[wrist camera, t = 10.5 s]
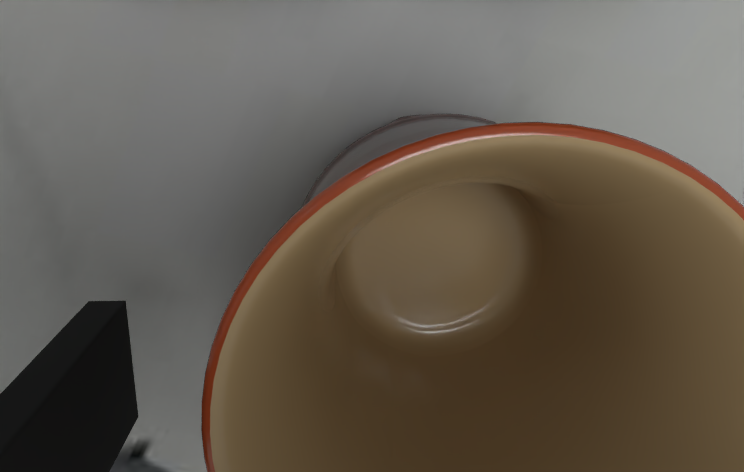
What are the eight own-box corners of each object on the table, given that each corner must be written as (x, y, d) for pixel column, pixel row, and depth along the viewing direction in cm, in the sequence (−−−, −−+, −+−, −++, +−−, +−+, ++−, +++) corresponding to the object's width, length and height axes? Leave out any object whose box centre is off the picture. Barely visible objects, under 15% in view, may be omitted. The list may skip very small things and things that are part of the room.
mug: (372, 20, 18) (401, -14, 8) (640, 180, 19) (949, 321, 9) (175, 383, 20) (12, 698, 11) (424, 501, 22) (486, 877, 12)
